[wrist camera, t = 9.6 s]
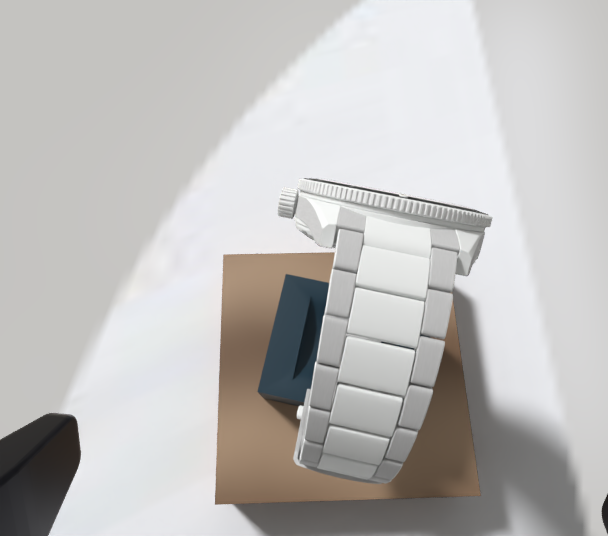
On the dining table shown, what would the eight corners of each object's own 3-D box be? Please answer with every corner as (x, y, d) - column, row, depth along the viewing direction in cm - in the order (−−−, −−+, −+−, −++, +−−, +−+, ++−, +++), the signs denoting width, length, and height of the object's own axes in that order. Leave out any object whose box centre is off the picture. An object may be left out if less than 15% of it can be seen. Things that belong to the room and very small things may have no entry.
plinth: (458, 488, 20) (480, 496, 17) (224, 495, 20) (214, 504, 17) (430, 268, 23) (446, 250, 21) (230, 273, 23) (223, 254, 21)
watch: (419, 281, 20) (548, 122, 10) (392, 477, 18) (530, 539, 7) (295, 255, 21) (294, 75, 10) (250, 443, 18) (187, 458, 8)
